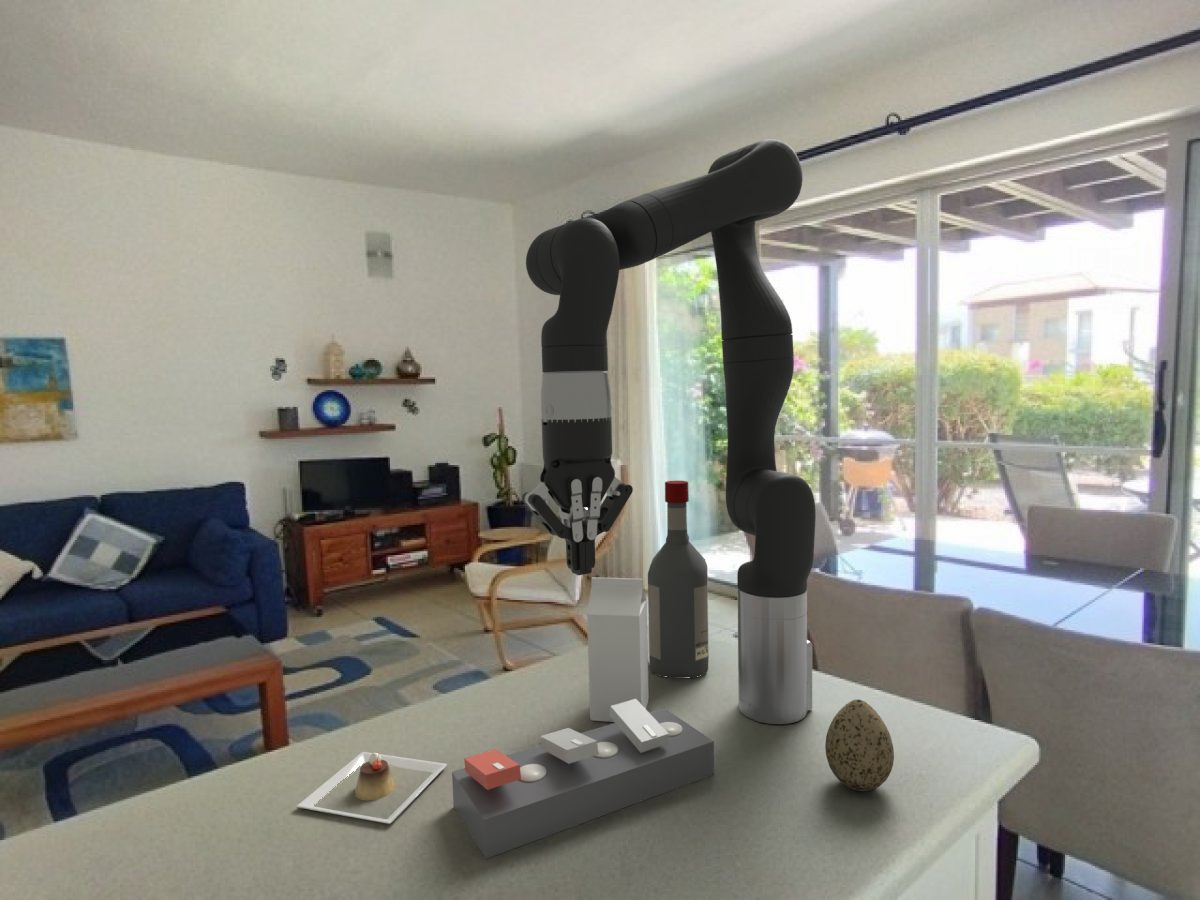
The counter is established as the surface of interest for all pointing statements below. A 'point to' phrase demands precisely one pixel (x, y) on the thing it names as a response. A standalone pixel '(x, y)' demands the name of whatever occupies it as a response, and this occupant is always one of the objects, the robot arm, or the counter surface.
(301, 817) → the counter surface
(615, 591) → the milk carton
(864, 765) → the decorative egg
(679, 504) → the liquor
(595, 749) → the middle rocker
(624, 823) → the counter surface
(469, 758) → the red rocker
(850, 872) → the counter surface
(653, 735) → the far rocker
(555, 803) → the rocker switch box
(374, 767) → the dessert
